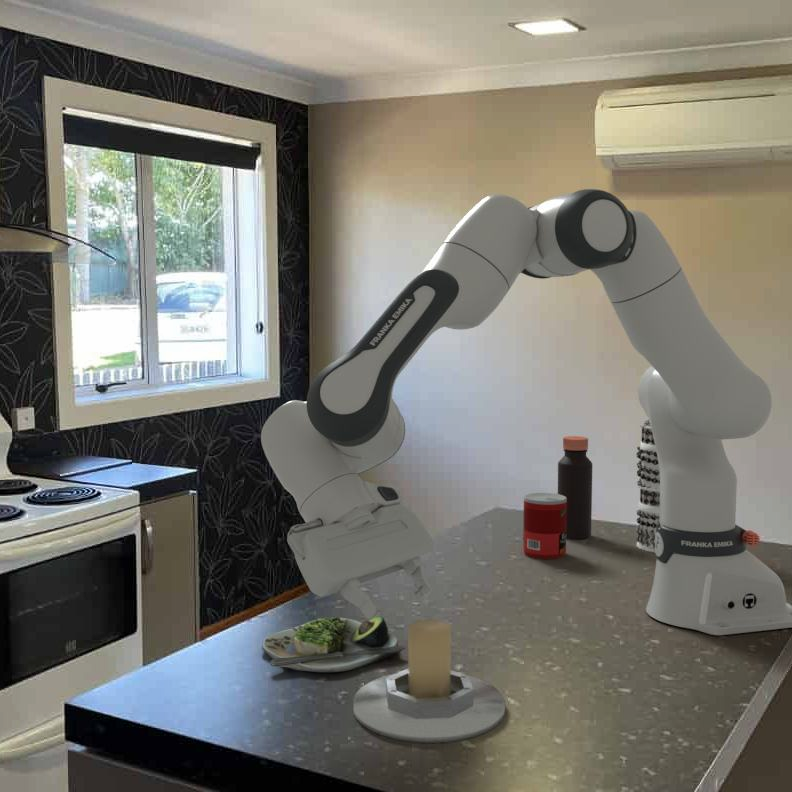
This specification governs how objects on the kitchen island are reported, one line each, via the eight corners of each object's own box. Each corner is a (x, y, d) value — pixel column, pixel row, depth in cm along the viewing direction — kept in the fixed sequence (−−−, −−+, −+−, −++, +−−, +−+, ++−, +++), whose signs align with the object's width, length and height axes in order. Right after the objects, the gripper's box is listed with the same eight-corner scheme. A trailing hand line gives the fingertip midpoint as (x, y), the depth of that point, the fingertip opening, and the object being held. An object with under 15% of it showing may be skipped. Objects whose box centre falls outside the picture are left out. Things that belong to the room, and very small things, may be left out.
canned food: (569, 559, 180) (570, 501, 179) (525, 559, 180) (526, 501, 179) (562, 548, 188) (563, 492, 187) (520, 548, 188) (521, 492, 187)
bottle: (556, 539, 195) (558, 440, 193) (557, 531, 202) (558, 435, 199) (591, 540, 194) (593, 440, 192) (590, 532, 200) (592, 435, 198)
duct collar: (490, 676, 126) (491, 653, 126) (518, 739, 108) (518, 713, 108) (351, 680, 125) (351, 657, 125) (356, 745, 107) (355, 719, 107)
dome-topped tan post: (447, 690, 119) (447, 619, 118) (453, 708, 114) (453, 633, 113) (406, 692, 119) (406, 620, 118) (410, 709, 114) (410, 634, 113)
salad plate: (309, 695, 121) (308, 659, 121) (229, 656, 134) (228, 623, 134) (421, 656, 134) (421, 623, 134) (338, 623, 147) (337, 594, 147)
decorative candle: (624, 546, 189) (627, 418, 186) (651, 538, 195) (654, 414, 193) (666, 556, 182) (669, 423, 180) (692, 547, 189) (696, 418, 186)
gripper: (293, 513, 114) (356, 612, 109) (406, 486, 129) (466, 571, 124) (268, 544, 117) (327, 641, 112) (381, 514, 133) (438, 598, 127)
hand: (401, 604), depth 118 cm, fingers open, 8 cm apart
